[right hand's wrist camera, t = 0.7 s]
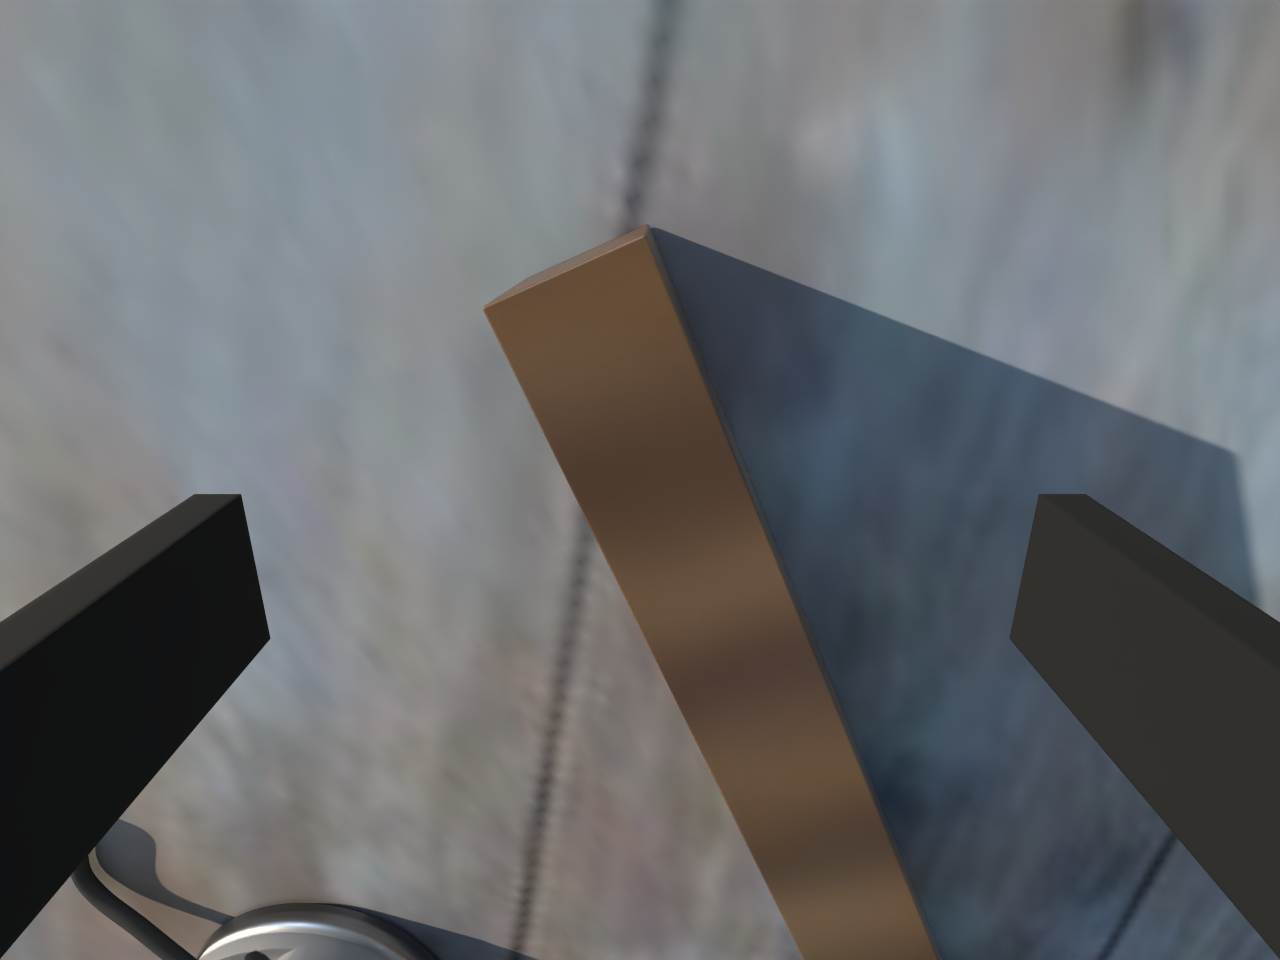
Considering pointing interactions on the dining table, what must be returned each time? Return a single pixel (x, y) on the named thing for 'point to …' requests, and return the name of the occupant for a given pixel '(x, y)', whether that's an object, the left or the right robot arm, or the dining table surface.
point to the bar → (710, 589)
